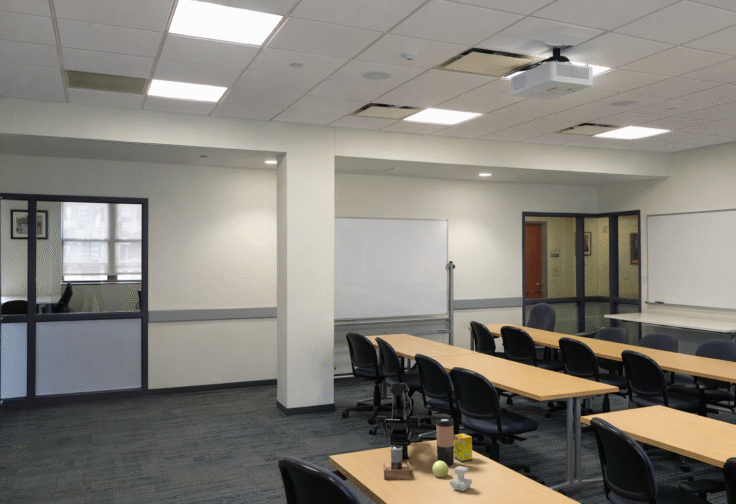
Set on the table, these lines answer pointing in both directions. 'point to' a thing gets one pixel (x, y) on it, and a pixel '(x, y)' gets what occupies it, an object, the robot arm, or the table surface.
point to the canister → (396, 457)
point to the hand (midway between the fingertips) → (397, 439)
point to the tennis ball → (440, 468)
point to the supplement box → (463, 447)
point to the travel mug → (445, 440)
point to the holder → (397, 472)
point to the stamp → (460, 479)
